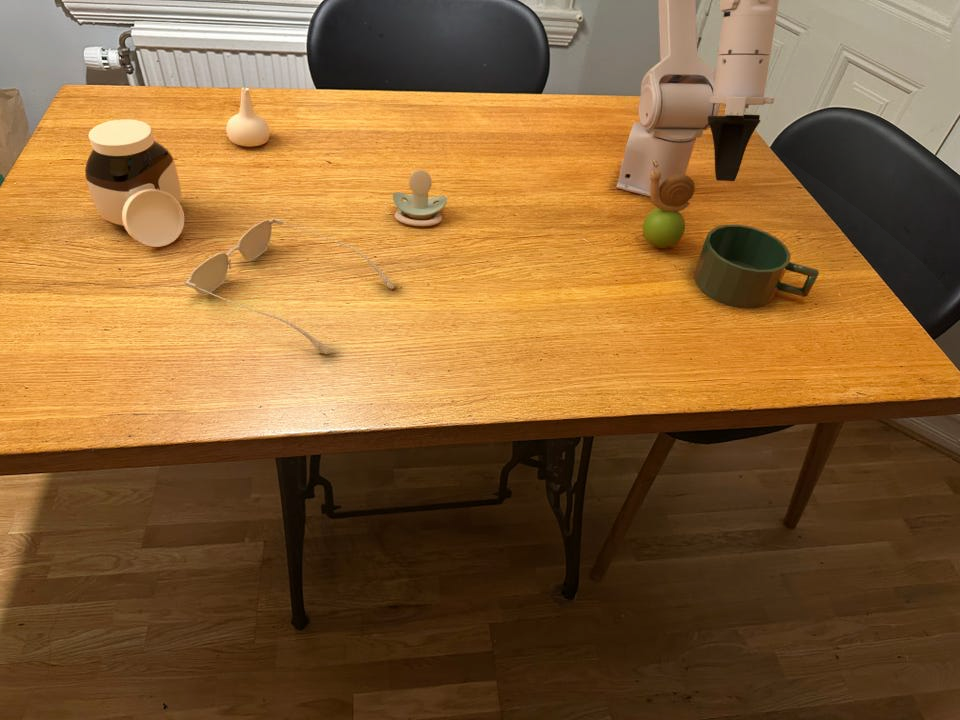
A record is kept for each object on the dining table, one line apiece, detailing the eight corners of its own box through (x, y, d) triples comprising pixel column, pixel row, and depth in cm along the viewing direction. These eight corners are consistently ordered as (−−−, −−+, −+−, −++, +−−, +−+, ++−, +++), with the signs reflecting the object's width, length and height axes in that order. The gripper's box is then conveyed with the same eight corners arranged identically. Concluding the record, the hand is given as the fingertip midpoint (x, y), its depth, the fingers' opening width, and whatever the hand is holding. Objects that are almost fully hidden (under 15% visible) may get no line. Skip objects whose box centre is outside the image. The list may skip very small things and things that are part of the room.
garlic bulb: (219, 142, 106) (209, 90, 100) (249, 128, 110) (241, 77, 104) (249, 155, 104) (241, 102, 98) (279, 140, 108) (272, 88, 102)
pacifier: (443, 232, 93) (447, 207, 97) (445, 190, 88) (449, 166, 93) (388, 226, 93) (395, 202, 97) (387, 185, 88) (394, 161, 92)
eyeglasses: (275, 240, 88) (271, 212, 86) (399, 285, 83) (398, 257, 81) (188, 306, 78) (180, 277, 75) (324, 361, 73) (320, 333, 70)
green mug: (687, 294, 86) (700, 257, 83) (700, 252, 93) (712, 216, 90) (802, 326, 83) (820, 290, 79) (806, 280, 90) (823, 245, 87)
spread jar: (146, 192, 94) (122, 109, 86) (218, 212, 92) (200, 128, 84) (80, 237, 86) (47, 149, 78) (158, 260, 83) (132, 172, 75)
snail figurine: (627, 232, 96) (648, 151, 87) (672, 233, 96) (697, 153, 88) (637, 255, 92) (659, 172, 83) (683, 256, 92) (710, 174, 84)
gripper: (783, 52, 72) (762, 186, 77) (778, 58, 85) (760, 173, 90) (712, 52, 75) (696, 182, 80) (718, 58, 87) (703, 170, 92)
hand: (726, 177), depth 85 cm, fingers open, 7 cm apart
